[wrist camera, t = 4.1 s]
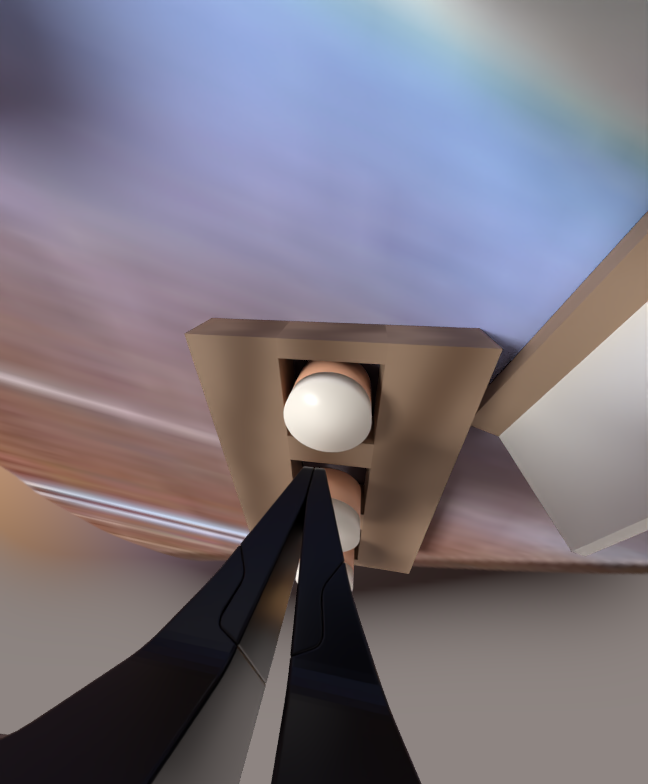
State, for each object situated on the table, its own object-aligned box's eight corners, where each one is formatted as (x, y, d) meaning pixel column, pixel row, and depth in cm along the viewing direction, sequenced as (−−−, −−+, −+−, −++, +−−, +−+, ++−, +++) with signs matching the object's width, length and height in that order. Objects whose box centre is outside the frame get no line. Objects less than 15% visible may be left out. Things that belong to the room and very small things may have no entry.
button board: (479, 328, 12) (502, 348, 10) (405, 543, 24) (408, 573, 21) (211, 318, 14) (184, 333, 12) (264, 522, 25) (255, 548, 23)
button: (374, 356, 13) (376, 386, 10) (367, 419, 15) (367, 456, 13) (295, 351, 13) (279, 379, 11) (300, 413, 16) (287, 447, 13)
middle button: (363, 471, 15) (362, 519, 13) (358, 510, 17) (357, 557, 15) (296, 464, 16) (283, 508, 13) (300, 503, 18) (290, 546, 16)
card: (769, 195, 8) (1682, 117, 3) (506, 432, 15) (592, 559, 9) (696, 157, 8) (1504, -19, 2) (461, 415, 15) (522, 533, 9)
